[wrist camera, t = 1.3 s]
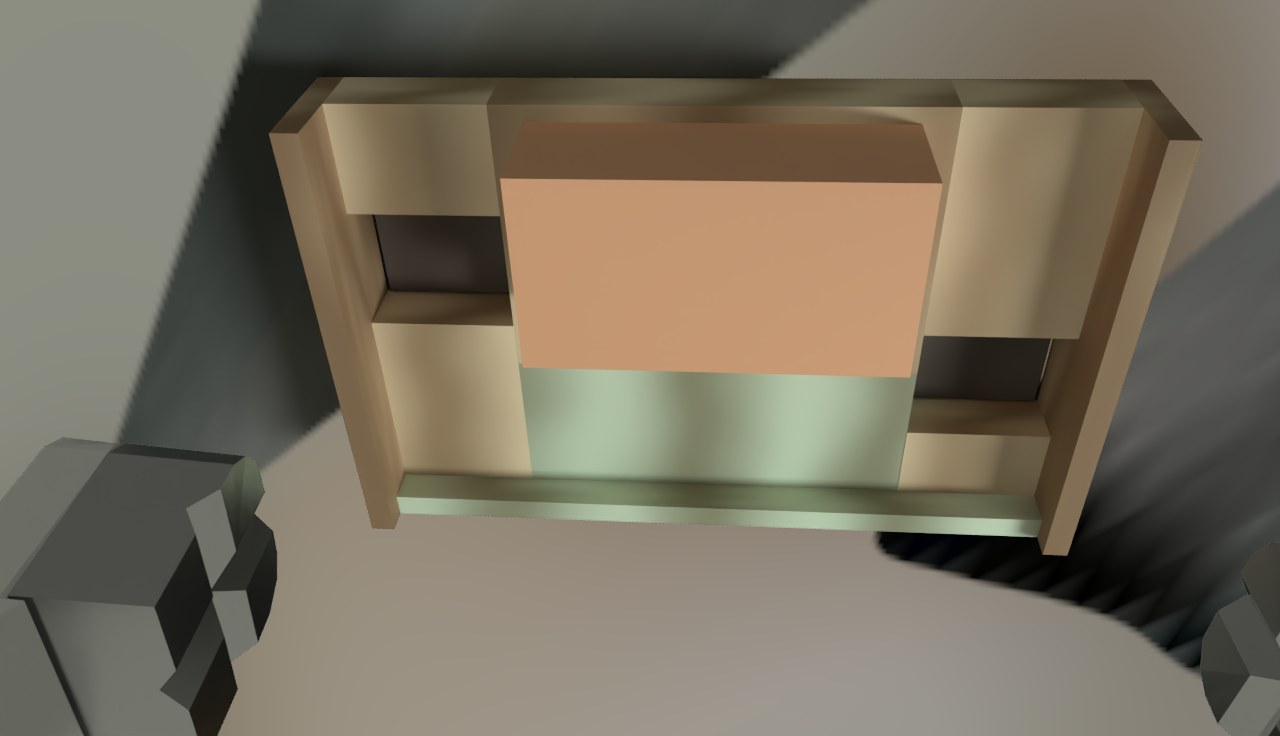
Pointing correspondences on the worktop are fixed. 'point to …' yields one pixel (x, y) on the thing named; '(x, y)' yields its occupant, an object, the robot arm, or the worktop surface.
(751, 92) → the trap board
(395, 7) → the worktop surface
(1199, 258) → the worktop surface
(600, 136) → the block
